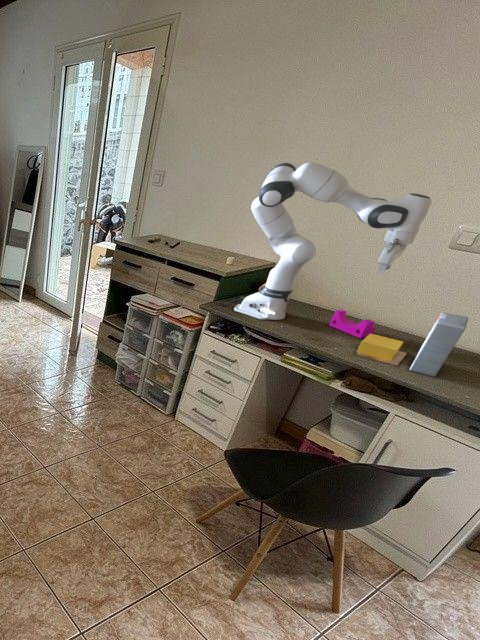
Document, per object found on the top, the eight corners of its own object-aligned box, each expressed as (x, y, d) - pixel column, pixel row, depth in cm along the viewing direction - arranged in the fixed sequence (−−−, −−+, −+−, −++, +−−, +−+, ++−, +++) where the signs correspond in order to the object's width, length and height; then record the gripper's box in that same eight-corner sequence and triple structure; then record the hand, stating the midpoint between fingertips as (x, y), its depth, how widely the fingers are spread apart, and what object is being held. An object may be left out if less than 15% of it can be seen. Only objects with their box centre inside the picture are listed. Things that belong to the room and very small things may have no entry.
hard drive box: (414, 357, 172) (441, 311, 162) (440, 363, 167) (470, 317, 157) (408, 370, 163) (436, 323, 153) (435, 377, 158) (466, 329, 148)
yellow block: (361, 341, 174) (396, 350, 167) (370, 333, 180) (403, 341, 173) (356, 352, 177) (390, 361, 169) (364, 343, 183) (397, 352, 175)
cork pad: (356, 354, 175) (356, 354, 175) (367, 343, 184) (367, 342, 184) (397, 365, 167) (397, 365, 166) (406, 353, 175) (407, 353, 175)
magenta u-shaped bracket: (371, 336, 190) (379, 321, 186) (360, 338, 188) (367, 322, 185) (339, 323, 202) (346, 309, 198) (328, 325, 201) (335, 310, 197)
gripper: (403, 243, 162) (386, 278, 169) (415, 234, 173) (398, 268, 180) (382, 240, 166) (366, 274, 173) (395, 232, 177) (380, 265, 184)
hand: (383, 271), depth 177 cm, fingers open, 8 cm apart
